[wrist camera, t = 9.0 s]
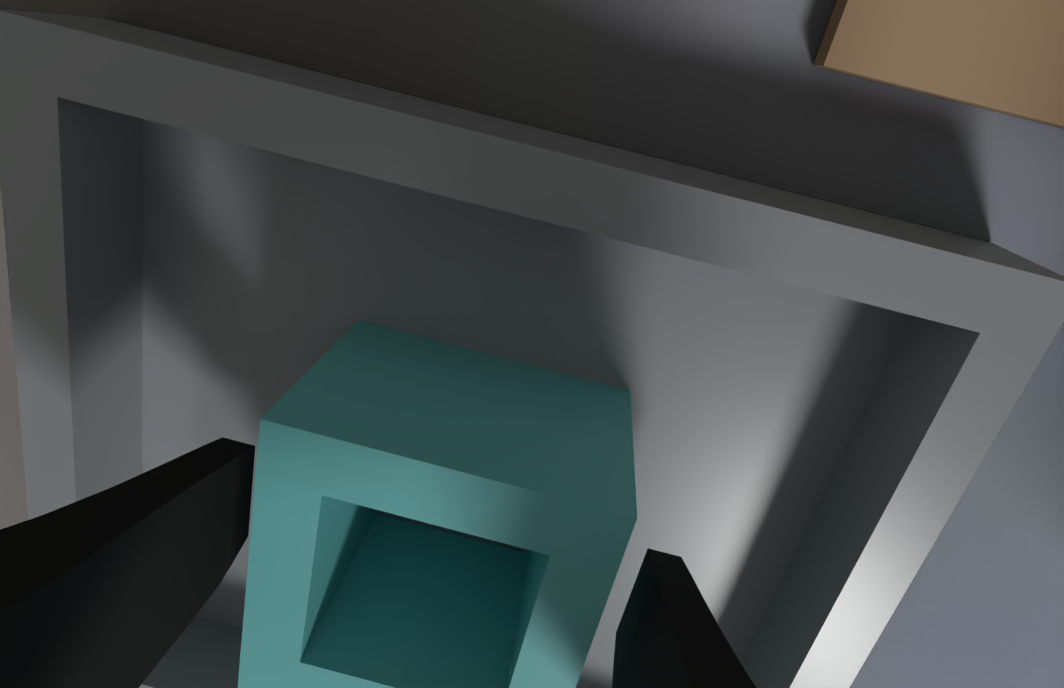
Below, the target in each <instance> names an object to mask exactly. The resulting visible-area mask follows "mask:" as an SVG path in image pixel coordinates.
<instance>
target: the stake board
mask: <svg viewBox="0 0 1064 688" xmlns="http://www.w3.org/2000/svg"><path fill="white" fill-rule="evenodd" d="M813 66H817V67H821V68H825V69H829V70H833V71H837V72H841V73H844V74H848V75H852V76H856V77H860V78H864V79H868V80H872V81H876V82H880V83H884V84H888V85H892V86H896V87H900V88H904V89H908V90H912V91H916V92H920V93H924V94H928V95H932V96H936V97H940V98H944V99H948V100H952V101H956V102H960V103H964V104H968V105H972V106H976V107H980V108H984V109H988V110H992V111H995V112H999V113H1003V114H1007V115H1011V116H1015V117H1019V118H1023V119H1027V120H1031V121H1035V122H1039V123H1043V124H1047V125H1051V126H1055V127H1059V128H1063V129H1064V0H837V2H836V4H835V7H834V10H833V13H832V15H831V18H830V21H829V23H828V26H827V29H826V32H825V34H824V37H823V40H822V42H821V45H820V48H819V51H818V53H817V56H816V59H815V61H814V64H813Z"/></svg>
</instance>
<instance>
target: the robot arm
mask: <svg viewBox="0 0 1064 688" xmlns="http://www.w3.org/2000/svg"><path fill="white" fill-rule="evenodd" d="M254 458H255V446H254V445H250V444H246V443H243V442H239V441H235V440H231V439H227V438H223V437H222V438H220V439H217V440H215V441H213V442H210V443H208V444H206V445H203V446H201V447H199V448H197V449H195V450H192V451H190V452H188V453H186V454H184V455H182V456H179V457H177V458H175V459H173V460H171V461H169V462H167V463H164V464H162V465H160V466H158V467H156V468H153V469H151V470H149V471H147V472H145V473H142V474H140V475H138V476H136V477H133V478H131V479H129V480H127V481H124V482H122V483H120V484H118V485H116V486H113V487H111V488H109V489H106V490H104V491H101V492H99V493H96V494H94V495H91V496H89V497H86V498H84V499H81V500H79V501H76V502H74V503H71V504H69V505H66V506H64V507H61V508H59V509H57V510H54V511H52V512H49V513H46V514H44V515H41V516H38V517H36V518H33V519H30V520H27V521H24V522H21V523H19V524H16V525H13V526H10V527H7V528H4V529H1V530H0V688H139V687H140V685H141V684H142V683H143V682H144V680H145V679H146V678H147V677H148V675H149V674H150V673H151V672H152V670H153V669H154V668H155V666H156V665H157V664H158V663H159V661H160V660H161V659H162V658H163V656H164V655H165V654H166V653H167V651H168V650H169V649H170V647H171V646H172V645H173V644H174V642H175V641H176V640H177V639H178V637H179V636H180V635H181V634H182V632H183V631H184V630H185V628H186V627H187V626H188V625H189V623H190V622H191V621H192V620H193V618H194V617H195V616H196V614H197V613H198V612H199V611H200V609H201V608H202V607H203V605H204V604H205V603H206V602H207V600H208V599H209V598H210V596H211V595H212V594H213V592H214V591H215V590H216V588H217V587H218V586H219V584H220V583H221V581H222V579H223V578H224V576H225V575H226V573H227V571H228V570H229V568H230V567H231V565H232V563H233V562H234V560H235V558H236V556H237V555H238V553H239V551H240V550H241V548H242V546H243V544H244V543H245V541H246V539H247V538H248V533H249V521H250V508H251V496H252V483H253V471H254ZM612 688H756V686H755V685H754V683H753V682H752V680H751V679H750V677H749V676H748V674H747V673H746V671H745V669H744V668H743V666H742V665H741V663H740V661H739V659H738V658H737V656H736V654H735V653H734V651H733V649H732V648H731V646H730V644H729V643H728V641H727V639H726V637H725V636H724V634H723V632H722V631H721V629H720V627H719V625H718V623H717V622H716V620H715V618H714V616H713V614H712V613H711V611H710V609H709V607H708V605H707V603H706V602H705V600H704V598H703V596H702V594H701V592H700V590H699V589H698V587H697V585H696V583H695V581H694V579H693V577H692V575H691V574H690V572H689V570H688V568H687V566H686V564H685V563H684V561H683V559H682V557H680V556H676V555H672V554H668V553H665V552H661V551H657V550H653V549H649V548H648V549H647V551H646V554H645V557H644V559H643V562H642V565H641V567H640V570H639V573H638V575H637V578H636V581H635V583H634V586H633V589H632V591H631V594H630V597H629V599H628V602H627V605H626V607H625V610H624V613H623V615H622V618H621V621H620V623H619V626H618V628H617V631H616V638H615V651H614V664H613V680H612Z"/></svg>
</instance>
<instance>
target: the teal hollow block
mask: <svg viewBox="0 0 1064 688" xmlns="http://www.w3.org/2000/svg"><path fill="white" fill-rule="evenodd" d="M378 510H379V511H383V512H387V513H391V514H395V515H398V516H402V517H406V518H410V519H414V520H417V521H421V522H425V523H429V524H433V525H436V526H440V527H444V528H448V529H452V530H455V531H459V532H463V533H467V534H471V535H474V536H478V537H482V538H486V539H490V540H493V541H497V542H501V543H505V544H509V545H512V546H516V547H520V548H524V549H528V550H529V553H528V554H526V553H523V552H519V551H515V550H511V549H507V548H504V547H500V546H496V545H492V544H488V543H485V542H481V541H477V540H473V539H469V538H466V537H462V536H458V535H454V534H450V533H447V532H443V531H439V530H435V529H431V528H428V527H424V526H420V525H416V524H412V523H409V522H405V521H401V520H397V519H393V518H390V517H386V516H382V515H378V514H377V512H378ZM636 520H637V503H636V485H635V467H634V449H633V431H632V414H631V396H630V390H626V389H623V388H619V387H615V386H611V385H607V384H603V383H599V382H596V381H592V380H588V379H584V378H580V377H576V376H573V375H569V374H565V373H561V372H557V371H553V370H550V369H546V368H542V367H538V366H534V365H530V364H526V363H523V362H519V361H515V360H511V359H507V358H503V357H500V356H496V355H492V354H488V353H484V352H480V351H477V350H473V349H469V348H465V347H461V346H457V345H453V344H450V343H446V342H442V341H438V340H434V339H430V338H427V337H423V336H419V335H415V334H411V333H407V332H404V331H400V330H396V329H392V328H388V327H384V326H380V325H377V324H373V323H369V322H365V321H361V320H358V321H357V322H356V323H355V324H354V325H353V326H352V327H351V328H350V329H349V330H348V331H347V332H346V333H345V334H344V335H343V336H342V337H341V338H340V339H339V340H338V341H337V342H336V343H335V344H334V345H333V346H332V347H331V348H330V349H329V350H328V351H327V352H326V353H325V354H324V355H323V356H322V357H321V358H320V359H319V360H318V361H317V362H316V363H315V364H314V365H313V366H312V367H311V368H310V369H309V370H308V371H307V372H306V373H305V374H304V375H303V376H302V377H301V378H300V379H299V380H298V381H297V382H296V383H295V384H294V385H293V386H292V387H291V388H290V389H289V390H288V391H287V392H286V393H285V394H284V395H283V396H282V398H281V399H280V400H279V401H278V402H277V403H276V404H275V405H274V406H273V407H272V408H271V409H270V410H269V411H268V412H267V413H266V414H265V415H264V416H263V417H262V418H261V419H260V426H259V438H258V450H257V462H256V474H255V486H254V498H253V509H252V521H251V533H250V545H249V557H248V569H247V581H246V593H245V605H244V617H243V629H242V641H241V652H240V664H239V676H238V688H576V685H577V682H578V680H579V677H580V674H581V671H582V669H583V666H584V663H585V660H586V658H587V655H588V652H589V649H590V647H591V644H592V641H593V638H594V636H595V633H596V630H597V627H598V625H599V622H600V619H601V616H602V614H603V611H604V608H605V605H606V603H607V600H608V597H609V594H610V592H611V589H612V586H613V583H614V581H615V578H616V575H617V573H618V570H619V567H620V564H621V562H622V559H623V556H624V553H625V551H626V548H627V545H628V542H629V540H630V537H631V534H632V531H633V529H634V526H635V523H636Z"/></svg>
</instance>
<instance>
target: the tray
mask: <svg viewBox="0 0 1064 688" xmlns="http://www.w3.org/2000/svg"><path fill="white" fill-rule="evenodd" d="M0 179H1V191H2V204H3V216H4V228H5V241H6V253H7V265H8V278H9V290H10V302H11V314H12V327H13V339H14V351H15V364H16V376H17V388H18V400H19V413H20V425H21V437H22V450H23V462H24V474H25V486H26V499H27V511H28V520H30V519H33V518H36V517H38V516H41V515H44V514H46V513H49V512H52V511H54V510H57V509H59V508H61V507H64V506H66V505H69V504H71V503H74V502H76V501H79V500H81V499H84V498H86V497H89V496H91V495H94V494H96V493H99V492H101V491H104V490H106V489H109V488H111V487H113V486H116V485H118V484H120V483H122V482H124V481H127V480H129V479H131V478H133V477H136V476H138V475H140V474H142V473H145V472H147V471H149V470H151V469H153V468H156V467H158V466H160V465H162V464H164V463H167V462H169V461H171V460H173V459H175V458H177V457H179V456H182V455H184V454H186V453H188V452H190V451H192V450H195V449H197V448H199V447H201V446H203V445H206V444H208V443H210V442H213V441H215V440H217V439H220V438H222V437H223V438H227V439H231V440H235V441H239V442H243V443H246V444H250V445H254V446H255V458H254V471H253V483H252V496H251V508H250V521H249V533H248V538H247V539H246V541H245V543H244V544H243V546H242V548H241V550H240V551H239V553H238V555H237V556H236V558H235V560H234V562H233V563H232V565H231V567H230V568H229V570H228V571H227V573H226V575H225V576H224V578H223V579H222V581H221V583H220V584H219V586H218V587H217V588H216V590H215V591H214V592H213V594H212V595H211V596H210V598H209V599H208V600H207V602H206V603H205V604H204V605H203V607H202V608H201V609H200V611H199V612H198V613H197V614H196V616H195V617H194V618H193V620H192V621H191V622H190V623H189V625H188V626H187V627H186V628H185V630H184V631H183V632H182V634H181V635H180V636H179V637H178V639H177V640H176V641H175V642H174V644H173V645H172V646H171V647H170V649H169V650H168V651H167V653H166V654H165V655H164V656H163V658H162V659H161V660H160V661H159V663H158V664H157V665H156V666H155V668H154V669H153V670H152V672H151V673H150V674H149V675H148V677H147V678H146V679H145V680H144V682H143V683H142V684H141V685H140V687H139V688H238V676H239V664H240V652H241V641H242V629H243V617H244V605H245V593H246V581H247V569H248V557H249V545H250V533H251V521H252V509H253V498H254V486H255V474H256V462H257V450H258V438H259V426H260V419H261V418H262V417H263V416H264V415H265V414H266V413H267V412H268V411H269V410H270V409H271V408H272V407H273V406H274V405H275V404H276V403H277V402H278V401H279V400H280V399H281V398H282V396H283V395H284V394H285V393H286V392H287V391H288V390H289V389H290V388H291V387H292V386H293V385H294V384H295V383H296V382H297V381H298V380H299V379H300V378H301V377H302V376H303V375H304V374H305V373H306V372H307V371H308V370H309V369H310V368H311V367H312V366H313V365H314V364H315V363H316V362H317V361H318V360H319V359H320V358H321V357H322V356H323V355H324V354H325V353H326V352H327V351H328V350H329V349H330V348H331V347H332V346H333V345H334V344H335V343H336V342H337V341H338V340H339V339H340V338H341V337H342V336H343V335H344V334H345V333H346V332H347V331H348V330H349V329H350V328H351V327H352V326H353V325H354V324H355V323H356V322H357V321H358V320H361V321H365V322H369V323H373V324H377V325H380V326H384V327H388V328H392V329H396V330H400V331H404V332H407V333H411V334H415V335H419V336H423V337H427V338H430V339H434V340H438V341H442V342H446V343H450V344H453V345H457V346H461V347H465V348H469V349H473V350H477V351H480V352H484V353H488V354H492V355H496V356H500V357H503V358H507V359H511V360H515V361H519V362H523V363H526V364H530V365H534V366H538V367H542V368H546V369H550V370H553V371H557V372H561V373H565V374H569V375H573V376H576V377H580V378H584V379H588V380H592V381H596V382H599V383H603V384H607V385H611V386H615V387H619V388H623V389H626V390H630V396H631V414H632V431H633V449H634V467H635V485H636V503H637V520H636V523H635V526H634V529H633V531H632V534H631V537H630V540H629V542H628V545H627V548H626V551H625V553H624V556H623V559H622V562H621V564H620V567H619V570H618V573H617V575H616V578H615V581H614V583H613V586H612V589H611V592H610V594H609V597H608V600H607V603H606V605H605V608H604V611H603V614H602V616H601V619H600V622H599V625H598V627H597V630H596V633H595V636H594V638H593V641H592V644H591V647H590V649H589V652H588V655H587V658H586V660H585V663H584V666H583V669H582V671H581V674H580V677H579V680H578V682H577V685H576V688H612V680H613V664H614V651H615V638H616V631H617V628H618V626H619V623H620V621H621V618H622V615H623V613H624V610H625V607H626V605H627V602H628V599H629V597H630V594H631V591H632V589H633V586H634V583H635V581H636V578H637V575H638V573H639V570H640V567H641V565H642V562H643V559H644V557H645V554H646V551H647V549H648V548H649V549H653V550H657V551H661V552H665V553H668V554H672V555H676V556H680V557H682V559H683V561H684V563H685V564H686V566H687V568H688V570H689V572H690V574H691V575H692V577H693V579H694V581H695V583H696V585H697V587H698V589H699V590H700V592H701V594H702V596H703V598H704V600H705V602H706V603H707V605H708V607H709V609H710V611H711V613H712V614H713V616H714V618H715V620H716V622H717V623H718V625H719V627H720V629H721V631H722V632H723V634H724V636H725V637H726V639H727V641H728V643H729V644H730V646H731V648H732V649H733V651H734V653H735V654H736V656H737V658H738V659H739V661H740V663H741V665H742V666H743V668H744V669H745V671H746V673H747V674H748V676H749V677H750V679H751V680H752V682H753V683H754V685H755V686H756V688H849V687H850V685H851V684H852V682H853V680H854V679H855V677H856V675H857V673H858V672H859V670H860V668H861V667H862V665H863V663H864V662H865V660H866V658H867V656H868V655H869V653H870V651H871V650H872V648H873V646H874V645H875V643H876V641H877V639H878V638H879V636H880V634H881V633H882V631H883V629H884V627H885V626H886V624H887V622H888V621H889V619H890V617H891V616H892V614H893V612H894V610H895V609H896V607H897V605H898V604H899V602H900V600H901V599H902V597H903V595H904V593H905V592H906V590H907V588H908V587H909V585H910V583H911V581H912V580H913V578H914V576H915V575H916V573H917V571H918V570H919V568H920V566H921V564H922V563H923V561H924V559H925V558H926V556H927V554H928V552H929V551H930V549H931V547H932V546H933V544H934V542H935V541H936V539H937V537H938V535H939V534H940V532H941V530H942V529H943V527H944V525H945V524H946V522H947V520H948V518H949V517H950V515H951V513H952V512H953V510H954V508H955V506H956V505H957V503H958V501H959V500H960V498H961V496H962V495H963V493H964V491H965V489H966V488H967V486H968V484H969V483H970V481H971V479H972V478H973V476H974V474H975V472H976V471H977V469H978V467H979V466H980V464H981V462H982V460H983V459H984V457H985V455H986V454H987V452H988V450H989V449H990V447H991V445H992V443H993V442H994V440H995V438H996V437H997V435H998V433H999V431H1000V430H1001V428H1002V426H1003V425H1004V423H1005V421H1006V420H1007V418H1008V416H1009V414H1010V413H1011V411H1012V409H1013V408H1014V406H1015V404H1016V403H1017V401H1018V399H1019V397H1020V396H1021V394H1022V392H1023V391H1024V389H1025V387H1026V385H1027V384H1028V382H1029V380H1030V379H1031V377H1032V375H1033V374H1034V372H1035V370H1036V368H1037V367H1038V365H1039V363H1040V362H1041V360H1042V358H1043V357H1044V355H1045V353H1046V351H1047V350H1048V348H1049V346H1050V345H1051V343H1052V341H1053V339H1054V338H1055V336H1056V334H1057V333H1058V331H1059V329H1060V328H1061V326H1062V324H1063V322H1064V277H1063V276H1061V275H1059V274H1057V273H1055V272H1053V271H1051V270H1049V269H1046V268H1044V267H1042V266H1040V265H1038V264H1036V263H1034V262H1031V261H1029V260H1027V259H1025V258H1023V257H1021V256H1019V255H1017V254H1014V253H1012V252H1010V251H1008V250H1006V249H1004V248H1002V247H1000V246H997V245H995V244H993V243H990V242H986V241H982V240H978V239H974V238H970V237H966V236H962V235H958V234H954V233H950V232H946V231H942V230H938V229H934V228H930V227H927V226H923V225H919V224H915V223H911V222H907V221H903V220H899V219H895V218H891V217H887V216H883V215H879V214H875V213H871V212H867V211H864V210H860V209H856V208H852V207H848V206H844V205H840V204H836V203H832V202H828V201H824V200H820V199H816V198H812V197H808V196H804V195H801V194H797V193H793V192H789V191H785V190H781V189H777V188H773V187H769V186H765V185H761V184H757V183H753V182H749V181H745V180H741V179H738V178H734V177H730V176H726V175H722V174H718V173H714V172H710V171H706V170H702V169H698V168H694V167H690V166H686V165H682V164H678V163H674V162H671V161H667V160H663V159H659V158H655V157H651V156H647V155H643V154H639V153H635V152H631V151H627V150H623V149H619V148H615V147H611V146H608V145H604V144H600V143H596V142H592V141H588V140H584V139H580V138H576V137H572V136H568V135H564V134H560V133H556V132H552V131H548V130H545V129H541V128H537V127H533V126H529V125H525V124H521V123H517V122H513V121H509V120H505V119H501V118H497V117H493V116H489V115H485V114H481V113H478V112H474V111H470V110H466V109H462V108H458V107H454V106H450V105H446V104H442V103H438V102H434V101H430V100H426V99H422V98H418V97H415V96H411V95H407V94H403V93H399V92H395V91H391V90H387V89H383V88H379V87H375V86H371V85H367V84H363V83H359V82H355V81H352V80H348V79H344V78H340V77H336V76H332V75H328V74H324V73H320V72H316V71H312V70H308V69H304V68H300V67H296V66H292V65H288V64H285V63H281V62H277V61H273V60H269V59H265V58H261V57H257V56H253V55H249V54H245V53H241V52H237V51H233V50H229V49H225V48H222V47H218V46H214V45H210V44H206V43H202V42H198V41H194V40H190V39H186V38H182V37H178V36H174V35H170V34H166V33H162V32H159V31H155V30H151V29H147V28H143V27H139V26H135V25H131V24H127V23H123V22H119V21H115V20H111V19H107V18H98V17H87V16H76V15H65V14H55V13H44V12H33V11H22V10H11V9H0ZM377 514H378V515H382V516H386V517H390V518H393V519H397V520H401V521H405V522H409V523H412V524H416V525H420V526H424V527H428V528H431V529H435V530H439V531H443V532H447V533H450V534H454V535H458V536H462V537H466V538H469V539H473V540H477V541H481V542H485V543H488V544H492V545H496V546H500V547H504V548H507V549H511V550H515V551H519V552H523V553H526V554H528V553H529V550H528V549H524V548H520V547H516V546H512V545H509V544H505V543H501V542H497V541H493V540H490V539H486V538H482V537H478V536H474V535H471V534H467V533H463V532H459V531H455V530H452V529H448V528H444V527H440V526H436V525H433V524H429V523H425V522H421V521H417V520H414V519H410V518H406V517H402V516H398V515H395V514H391V513H387V512H383V511H379V510H378V512H377Z"/></svg>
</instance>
